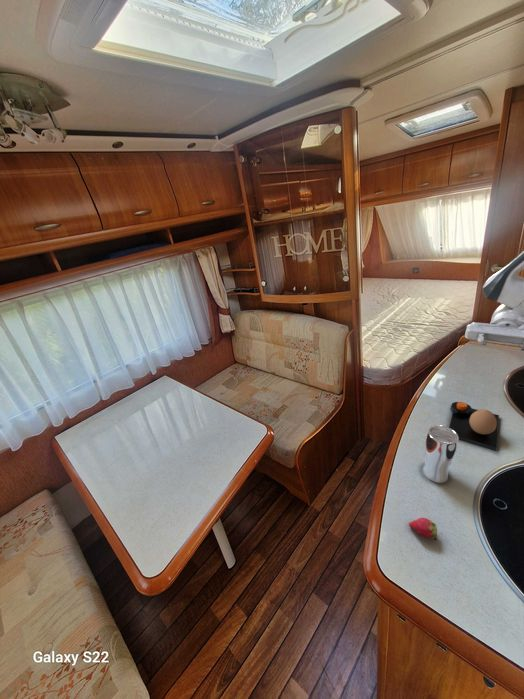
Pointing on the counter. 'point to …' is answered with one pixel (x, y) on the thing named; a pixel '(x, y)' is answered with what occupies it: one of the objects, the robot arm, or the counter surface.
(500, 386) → the counter surface
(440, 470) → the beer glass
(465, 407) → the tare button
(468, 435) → the scale
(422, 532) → the fruit
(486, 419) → the egg
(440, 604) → the counter surface
